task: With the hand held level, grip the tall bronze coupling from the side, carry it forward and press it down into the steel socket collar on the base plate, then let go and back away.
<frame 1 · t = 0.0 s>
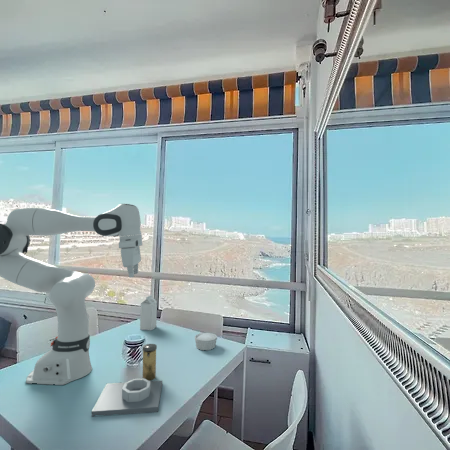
hand: (133, 275, 117), 39 cm above the table, tool pointing down, fingers open, 8 cm apart
socket base: (136, 398, 96), on the table
coupling: (149, 377, 110), on the table
milk carton: (148, 328, 165), on the table
ramekin: (205, 347, 140), on the table
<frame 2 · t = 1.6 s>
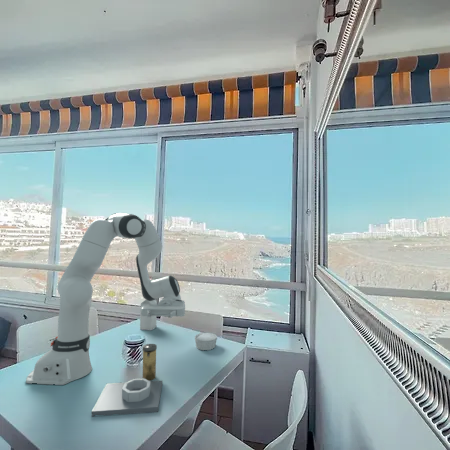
hand: (159, 315, 122), 20 cm above the table, tool horizontal, fingers open, 8 cm apart
nothing on the table moved.
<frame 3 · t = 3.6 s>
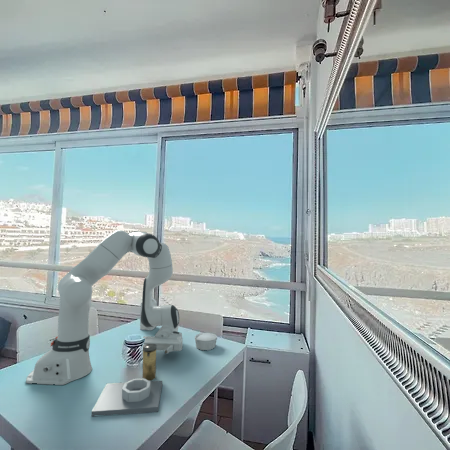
hand: (155, 351, 118), 7 cm above the table, tool horizontal, fingers open, 8 cm apart
nothing on the table moved.
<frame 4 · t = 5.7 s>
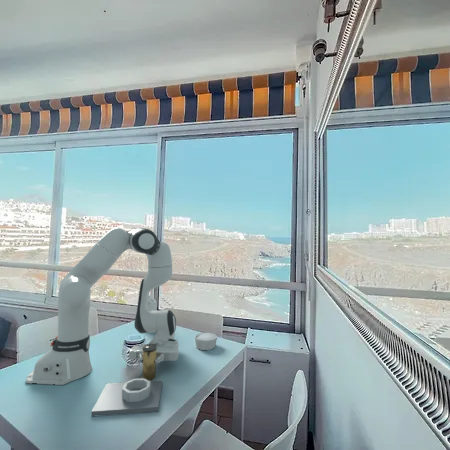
hand: (148, 361, 109), 7 cm above the table, tool horizontal, fingers closed on coupling, 5 cm apart
coupling: (149, 377, 110), on the table, touching gripper
everything else where it was.
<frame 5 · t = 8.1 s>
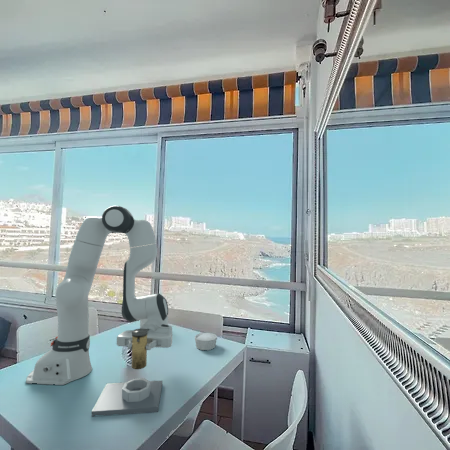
hand: (138, 347, 97), 17 cm above the table, tool horizontal, fingers closed on coupling, 5 cm apart
coupling: (139, 365, 98), point 10 cm above the table, touching gripper
everything else where it was.
when the fingers open (9 cm above the table, at t = 10.7 s): coupling stays where it is, resting on socket base.
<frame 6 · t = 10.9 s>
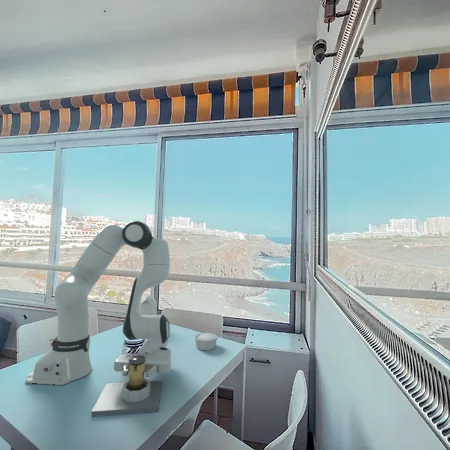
hand: (136, 374, 95), 9 cm above the table, tool horizontal, fingers open, 7 cm apart
coupling: (136, 394, 96), point 2 cm above the table, touching socket base
everything else where it was.
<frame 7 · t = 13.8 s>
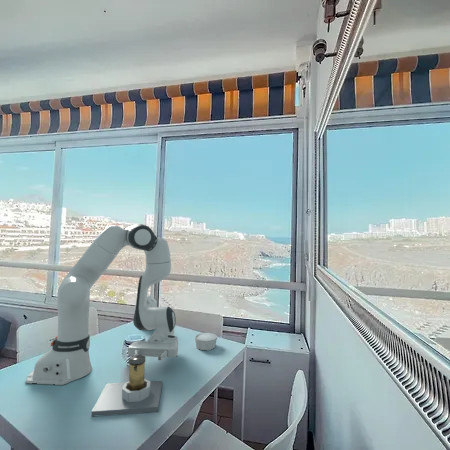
hand: (147, 357, 108), 9 cm above the table, tool horizontal, fingers open, 8 cm apart
nothing on the table moved.
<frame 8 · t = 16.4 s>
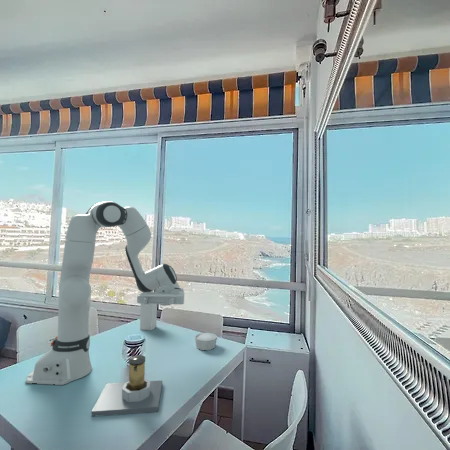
hand: (156, 302, 115), 28 cm above the table, tool horizontal, fingers open, 8 cm apart
nothing on the table moved.
at the end: coupling 0.0 cm off-centre on the socket base, point 1.5 cm above the socket base's base; coupling tilted 0°; the gripper is holding nothing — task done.
